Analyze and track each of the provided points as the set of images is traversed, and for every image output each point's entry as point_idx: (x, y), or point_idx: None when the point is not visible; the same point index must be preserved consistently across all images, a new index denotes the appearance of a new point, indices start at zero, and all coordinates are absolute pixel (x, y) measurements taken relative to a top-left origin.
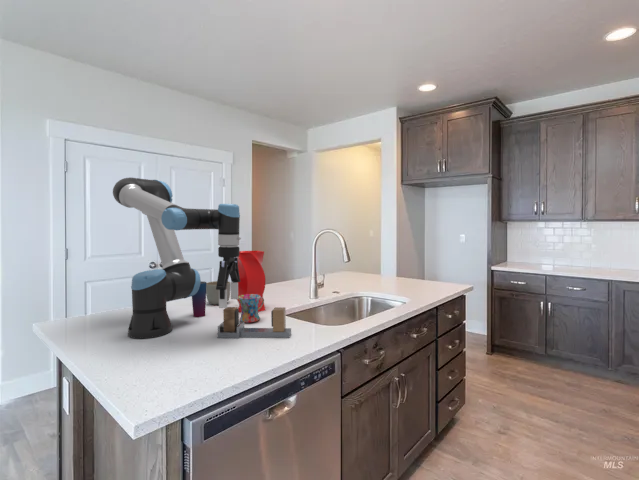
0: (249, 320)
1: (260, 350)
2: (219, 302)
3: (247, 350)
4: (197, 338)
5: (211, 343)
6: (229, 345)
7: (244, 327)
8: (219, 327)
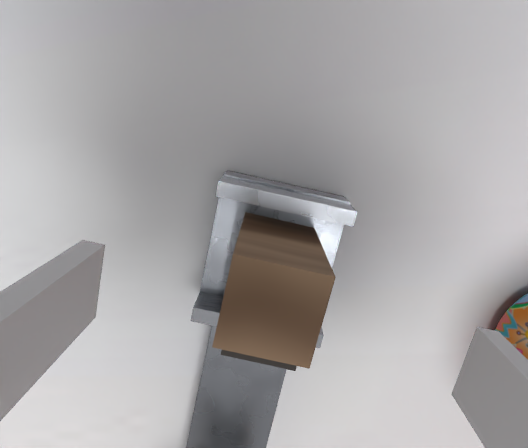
0: None
1: None
2: (51, 266)
3: None
4: (243, 42)
5: (134, 147)
6: None
7: None
8: (217, 193)
